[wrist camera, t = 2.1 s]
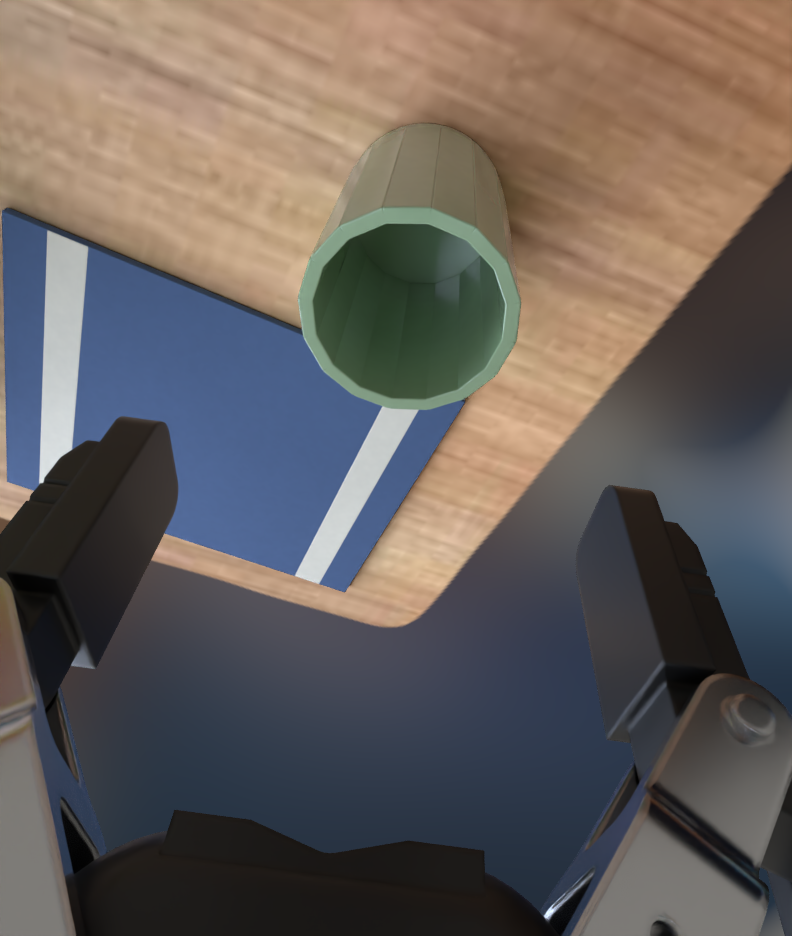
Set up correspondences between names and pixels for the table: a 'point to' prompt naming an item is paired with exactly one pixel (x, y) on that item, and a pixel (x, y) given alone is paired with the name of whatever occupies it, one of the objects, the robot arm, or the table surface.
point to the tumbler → (414, 273)
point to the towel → (202, 405)
